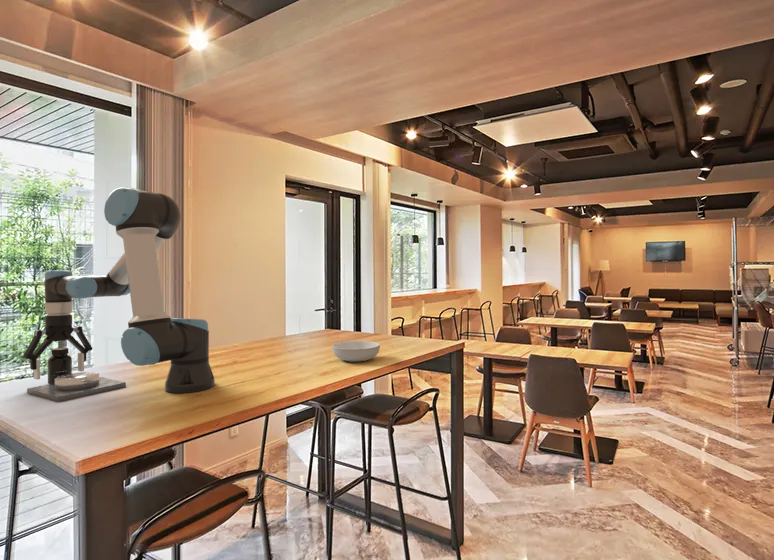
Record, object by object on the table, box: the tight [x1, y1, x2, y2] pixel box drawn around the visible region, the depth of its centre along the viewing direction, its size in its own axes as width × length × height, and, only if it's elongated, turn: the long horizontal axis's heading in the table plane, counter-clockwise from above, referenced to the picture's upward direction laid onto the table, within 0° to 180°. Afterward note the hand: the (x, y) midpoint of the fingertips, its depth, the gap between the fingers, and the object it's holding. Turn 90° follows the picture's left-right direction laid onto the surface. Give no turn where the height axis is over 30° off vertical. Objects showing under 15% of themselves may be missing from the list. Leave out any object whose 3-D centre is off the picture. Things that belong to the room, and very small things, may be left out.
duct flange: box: [26, 371, 127, 403], centre depth 146 cm, size 20×20×4 cm
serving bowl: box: [331, 340, 381, 363], centre depth 193 cm, size 21×21×7 cm
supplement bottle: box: [47, 347, 73, 385], centre depth 156 cm, size 7×7×12 cm
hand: (59, 374), depth 156 cm, fingers open, 13 cm apart
